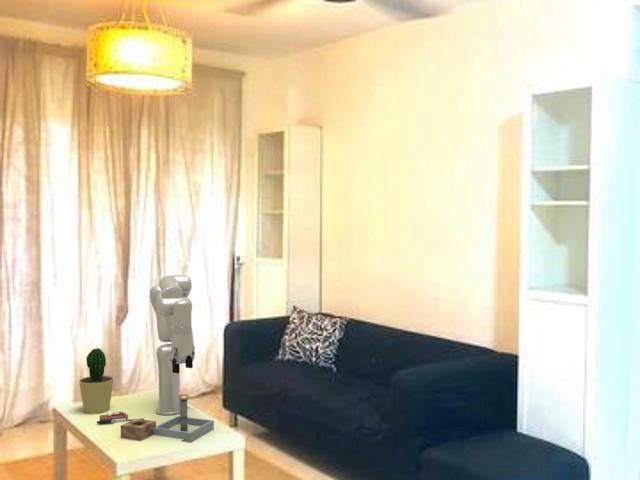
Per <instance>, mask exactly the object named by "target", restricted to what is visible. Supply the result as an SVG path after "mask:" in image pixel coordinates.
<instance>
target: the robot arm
mask: <svg viewBox="0 0 640 480" xmlns="http://www.w3.org/2000/svg"><path fill="white" fill-rule="evenodd" d="M158 283H159V284H157V285H154V286H152V287H151V288H150V290H149V299H150V303H151V307H152V309H153V310H154V312H155V319H156V328H157V330H156V331H157V337H158V339H159V341H160V342H162V343H166V344H162V345H159V346H158V347H157V349H156V360H157V367H158V368H157V369H158V407H157V408H156V409H155V413H156V414H158V415H162V416H172V415H178V414H180V399H178V396H179V395H181V394H180V392H181V388H180V385H181V384H180V383H181V380H180V377H181V376H180V372H181V371H180V364H181V365H182V364H185V368H186V369H193V366H194V364H193V363H194V360H195V356H196V352H195V351H196V350H195V349H196V346H195V341H194V334H193V328H192V310H193V302H192V301H191V299H190V298H189V295H190V293H191V290H192V287H193V285H192V279H191V278H190V277H189V276H188V275H187V274H177V275H176V274H174V275H170V274H169V275H165V276H163V277H162V278H161V279H160V280H159V282H158Z"/></svg>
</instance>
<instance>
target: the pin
mask: <svg viewBox="0 0 640 480" xmlns="http://www.w3.org/2000/svg"><path fill="white" fill-rule="evenodd" d="M178 399H180V413H179V416H180V423H179V424H180V426H179V429H180V430H179V431H185V432H189V428H188V427H189V425H188V417H189V416H188V399H190V394H180V395H179V396H178Z"/></svg>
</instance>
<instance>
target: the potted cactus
mask: <svg viewBox="0 0 640 480" xmlns="http://www.w3.org/2000/svg"><path fill="white" fill-rule="evenodd" d="M87 352H88V351H87ZM85 358H86V359H85V361H86V362H85V363H86V367H87V368H88V374H89V376H85V377H82V378H80V379H79V380H78V382H79V388H80V393H81V401H82V406H83V407H82V408H83V412H84V413H85V414H87V415H88V414H89V415H97V414H99V415H100V414H103V413H106V412H107V413H108V412H109V410H110V407H111V400H112V393H113V384H114V377H113V376H110V375H105V371H106V369H107V368H108V366H107V361H106V360H107V356H106V353H105V352H104V351H103V350H102V348H100V347H95V348H94V349H90V352H88V353H87V356H86V355H85ZM105 368H106V369H105Z"/></svg>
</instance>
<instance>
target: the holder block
mask: <svg viewBox="0 0 640 480" xmlns="http://www.w3.org/2000/svg"><path fill="white" fill-rule="evenodd" d="M133 419H134V420H132V421H126V423H125V422H124V423H123V424H121V425H120V439H125V440H132V441H138V442H141V441H144V440H146V439H148V438H149V437H152V436H154V435H153V428H154V427H156V426H157V421H156V420H148V419H144V420H143V419H142V418H133Z"/></svg>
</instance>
